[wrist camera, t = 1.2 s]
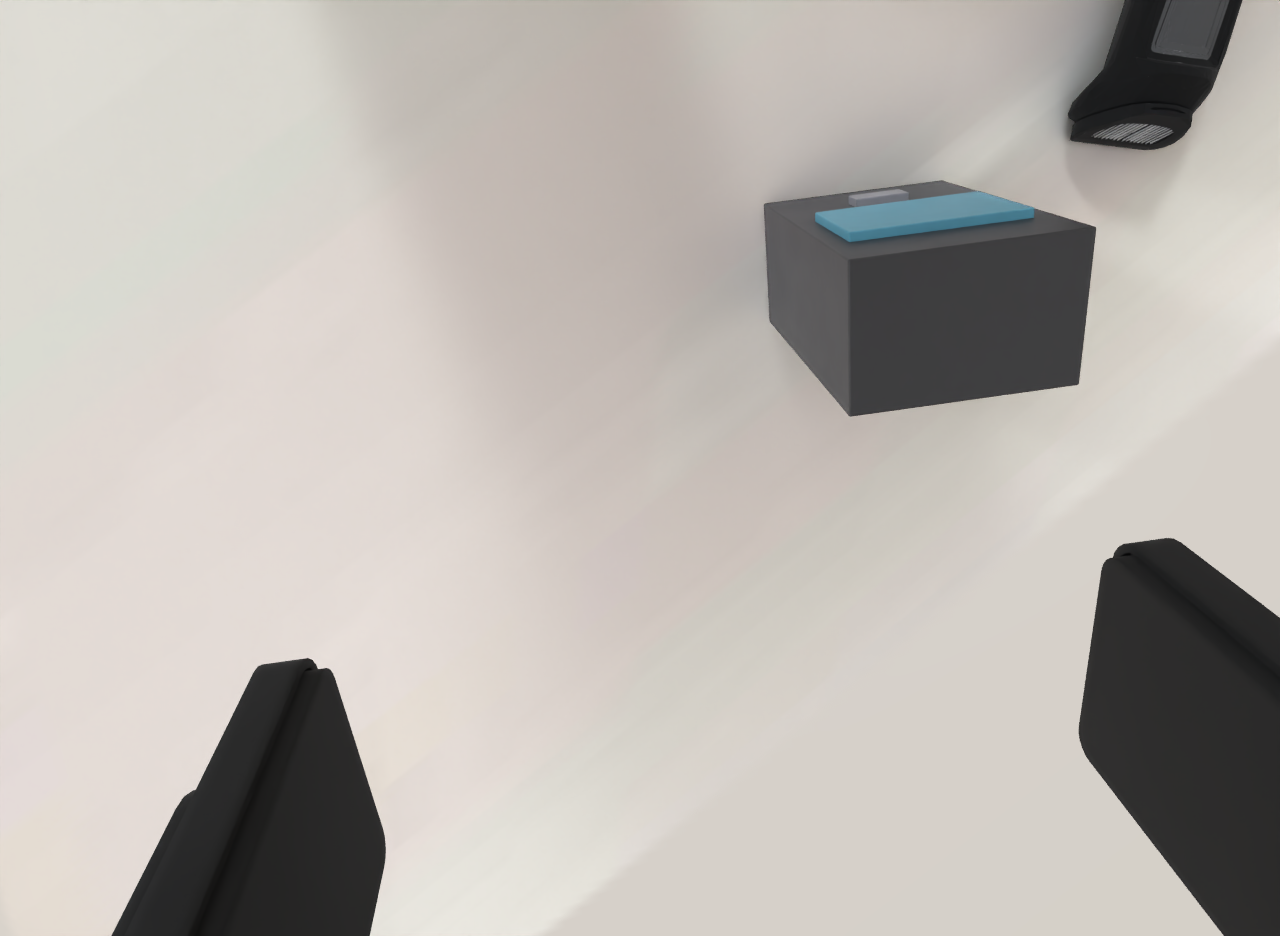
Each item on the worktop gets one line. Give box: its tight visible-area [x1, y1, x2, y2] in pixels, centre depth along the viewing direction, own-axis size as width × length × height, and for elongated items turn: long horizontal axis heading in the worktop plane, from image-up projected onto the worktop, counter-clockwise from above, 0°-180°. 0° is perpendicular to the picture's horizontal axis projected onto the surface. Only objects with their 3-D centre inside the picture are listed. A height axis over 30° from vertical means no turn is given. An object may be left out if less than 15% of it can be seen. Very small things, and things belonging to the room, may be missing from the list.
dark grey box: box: [764, 181, 1096, 416], centre depth 25 cm, size 4×6×9 cm
